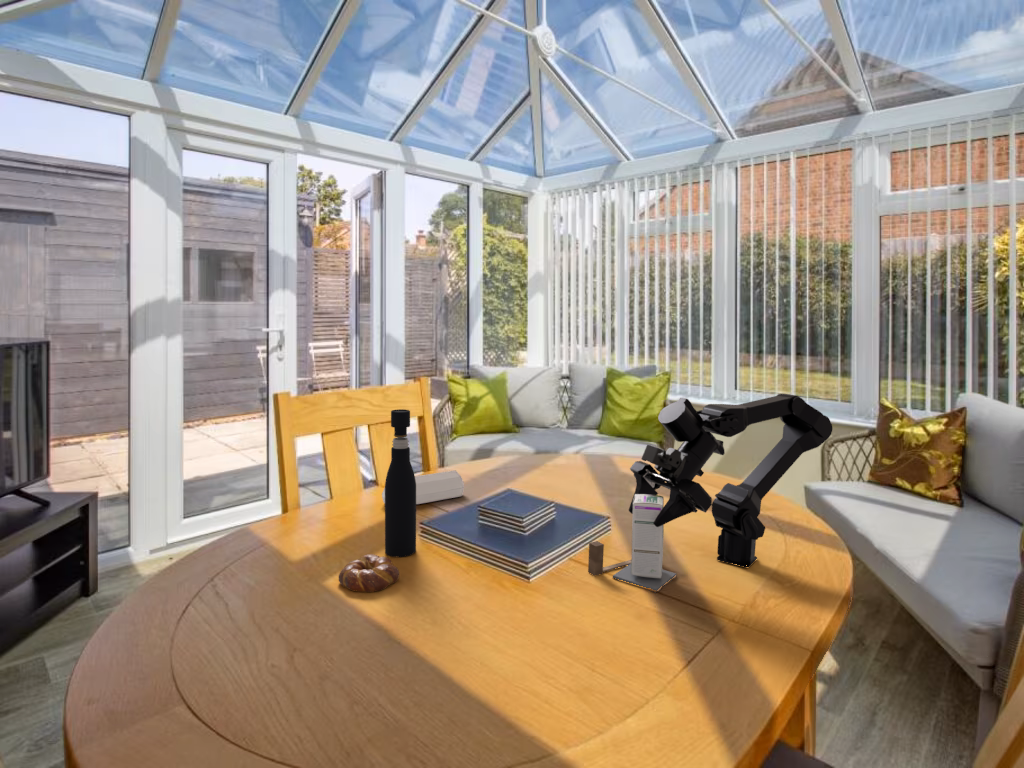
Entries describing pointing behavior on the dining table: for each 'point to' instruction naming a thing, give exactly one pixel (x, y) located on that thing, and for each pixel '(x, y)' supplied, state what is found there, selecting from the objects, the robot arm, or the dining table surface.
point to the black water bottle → (400, 492)
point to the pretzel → (368, 574)
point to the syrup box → (647, 536)
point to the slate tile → (644, 578)
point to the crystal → (437, 486)
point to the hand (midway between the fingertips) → (642, 518)
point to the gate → (600, 559)
